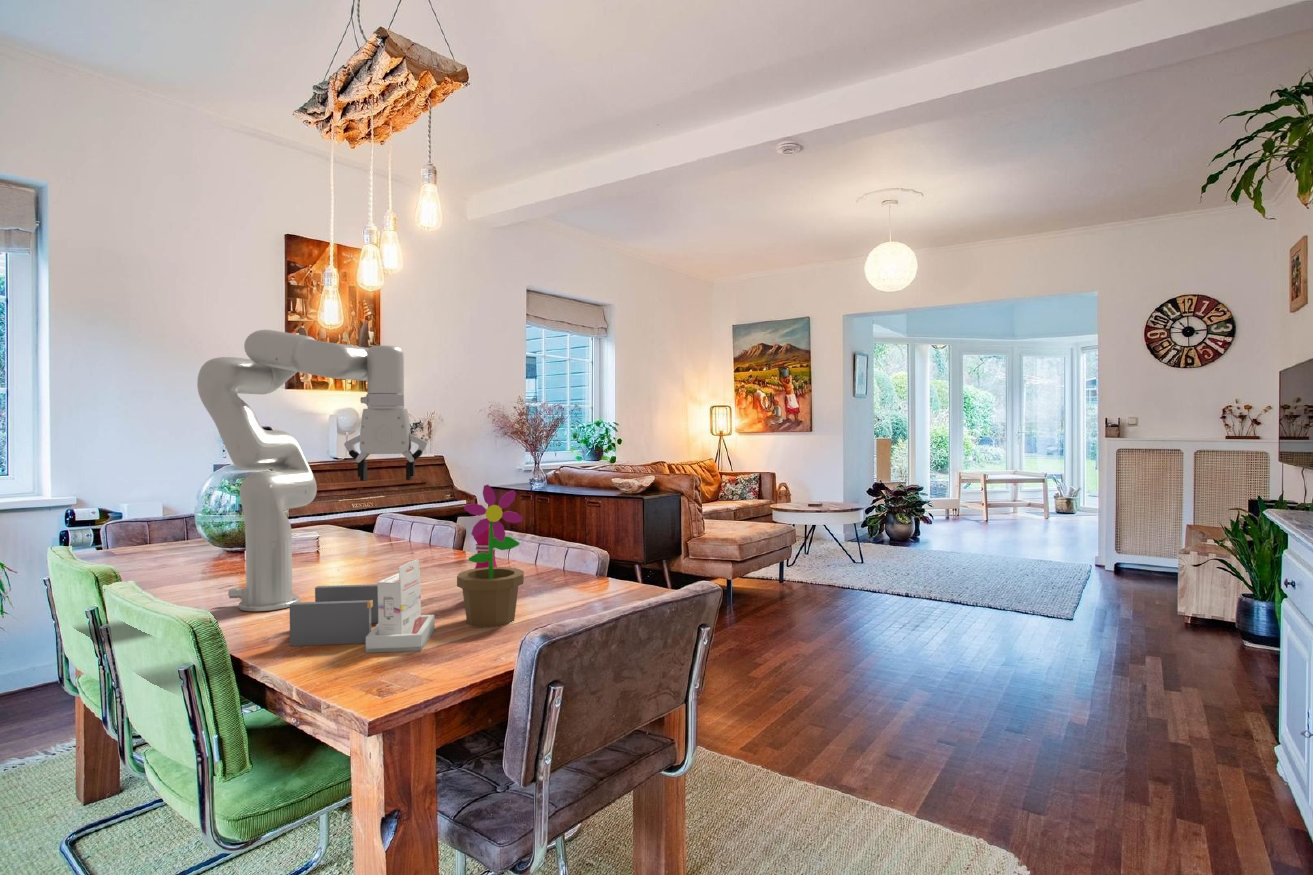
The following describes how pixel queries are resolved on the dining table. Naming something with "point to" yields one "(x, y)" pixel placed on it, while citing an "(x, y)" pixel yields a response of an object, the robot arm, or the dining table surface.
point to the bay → (335, 616)
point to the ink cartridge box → (400, 601)
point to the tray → (401, 638)
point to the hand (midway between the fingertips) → (386, 480)
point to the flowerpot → (491, 567)
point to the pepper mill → (484, 547)
